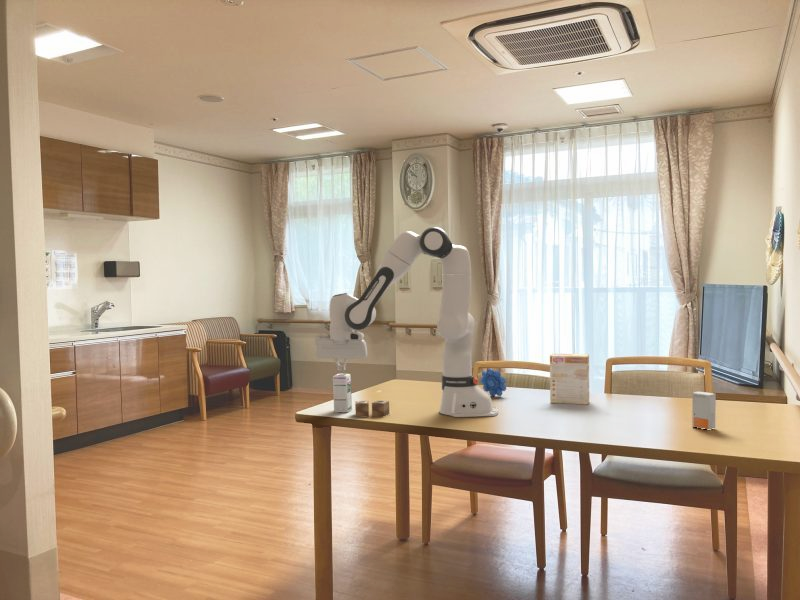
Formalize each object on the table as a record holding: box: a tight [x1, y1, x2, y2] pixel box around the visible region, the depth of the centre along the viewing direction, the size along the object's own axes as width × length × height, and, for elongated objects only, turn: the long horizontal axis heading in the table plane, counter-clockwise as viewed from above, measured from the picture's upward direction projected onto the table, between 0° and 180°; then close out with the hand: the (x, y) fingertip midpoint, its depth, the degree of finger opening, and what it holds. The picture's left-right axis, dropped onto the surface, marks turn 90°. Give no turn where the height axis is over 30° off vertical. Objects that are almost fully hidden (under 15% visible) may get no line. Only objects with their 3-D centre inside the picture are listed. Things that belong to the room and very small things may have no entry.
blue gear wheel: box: [479, 368, 507, 397], centre depth 280 cm, size 12×7×12 cm, turn 64°
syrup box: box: [332, 372, 353, 413], centre depth 255 cm, size 6×6×14 cm
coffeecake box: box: [549, 353, 590, 405], centre depth 265 cm, size 15×7×20 cm, turn 69°
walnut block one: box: [354, 400, 370, 417], centre depth 247 cm, size 5×5×5 cm
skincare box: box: [691, 391, 717, 429], centre depth 218 cm, size 6×4×12 cm
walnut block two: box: [371, 400, 390, 417], centre depth 247 cm, size 5×5×5 cm
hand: (341, 369), depth 254 cm, fingers closed
